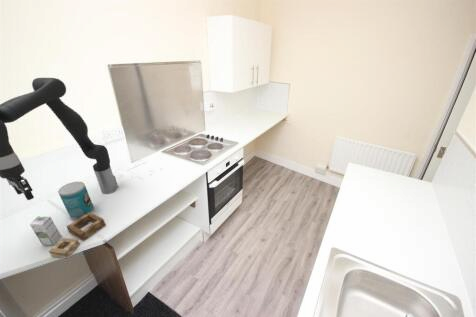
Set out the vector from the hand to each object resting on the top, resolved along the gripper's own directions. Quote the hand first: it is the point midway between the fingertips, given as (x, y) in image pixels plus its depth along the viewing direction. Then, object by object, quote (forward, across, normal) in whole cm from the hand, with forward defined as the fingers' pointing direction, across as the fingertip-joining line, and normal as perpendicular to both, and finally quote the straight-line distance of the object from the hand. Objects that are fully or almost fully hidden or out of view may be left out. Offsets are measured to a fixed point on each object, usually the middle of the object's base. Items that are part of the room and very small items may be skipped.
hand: (25, 196), depth 95 cm
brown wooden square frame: (+28, -8, -13) cm, 32 cm away
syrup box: (+29, 0, 0) cm, 29 cm away
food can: (+28, +7, -20) cm, 35 cm away
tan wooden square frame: (+28, -12, 0) cm, 31 cm away
